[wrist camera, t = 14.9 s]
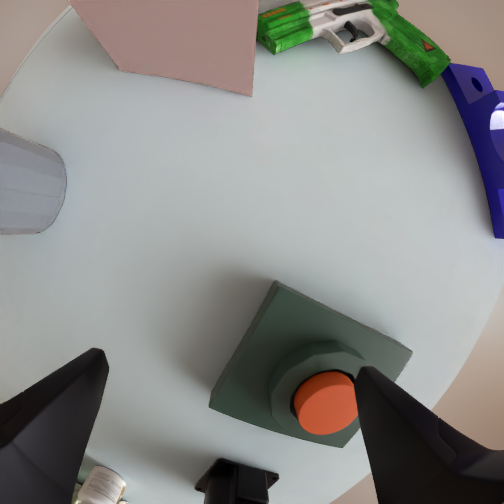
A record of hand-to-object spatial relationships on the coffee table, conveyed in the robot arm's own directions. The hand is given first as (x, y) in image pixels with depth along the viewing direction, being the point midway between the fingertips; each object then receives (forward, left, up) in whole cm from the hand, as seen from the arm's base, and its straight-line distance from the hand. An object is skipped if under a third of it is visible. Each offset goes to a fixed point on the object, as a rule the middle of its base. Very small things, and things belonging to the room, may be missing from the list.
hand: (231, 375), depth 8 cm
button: (-2, -7, -6) cm, 10 cm away
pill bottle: (-27, +3, -10) cm, 29 cm away
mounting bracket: (+25, -16, -10) cm, 31 cm away
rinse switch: (-2, -8, -10) cm, 13 cm away
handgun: (+21, -5, -9) cm, 23 cm away
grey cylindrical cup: (0, +19, -10) cm, 22 cm away
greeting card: (+13, +12, -10) cm, 21 cm away
